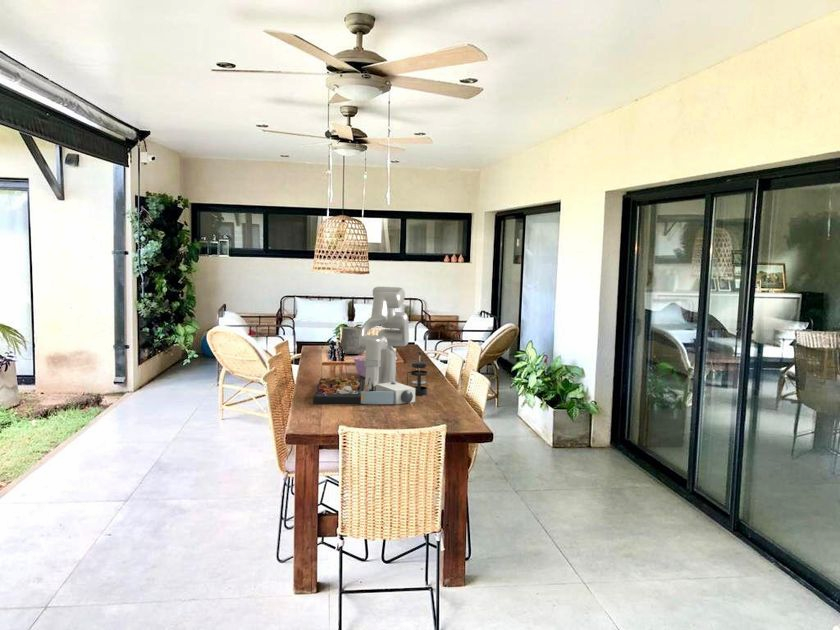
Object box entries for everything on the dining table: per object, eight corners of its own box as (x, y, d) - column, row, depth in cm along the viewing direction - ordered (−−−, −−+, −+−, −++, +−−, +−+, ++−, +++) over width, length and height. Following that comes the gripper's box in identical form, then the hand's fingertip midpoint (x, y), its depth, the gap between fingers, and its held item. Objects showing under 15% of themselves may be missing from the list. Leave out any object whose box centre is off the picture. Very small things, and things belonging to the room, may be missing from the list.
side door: (360, 404, 309) (360, 391, 309) (360, 403, 311) (361, 390, 311) (396, 404, 310) (396, 392, 310) (396, 403, 312) (396, 391, 312)
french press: (428, 392, 343) (430, 350, 341) (428, 396, 334) (430, 353, 331) (407, 391, 343) (408, 349, 341) (406, 395, 334) (407, 352, 332)
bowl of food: (389, 374, 389) (389, 356, 388) (384, 381, 369) (384, 361, 368) (357, 373, 391) (357, 354, 390) (350, 379, 371) (350, 360, 370)
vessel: (331, 355, 456) (332, 328, 454) (344, 351, 477) (345, 325, 475) (359, 357, 450) (359, 329, 448) (371, 353, 470) (371, 326, 469)
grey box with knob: (375, 397, 327) (376, 382, 327) (395, 394, 335) (395, 380, 334) (397, 405, 311) (398, 389, 311) (417, 402, 319) (417, 387, 318)
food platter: (363, 406, 311) (363, 385, 310) (313, 405, 309) (313, 384, 308) (363, 386, 356) (364, 368, 355) (319, 386, 354) (320, 368, 353)
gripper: (369, 359, 320) (368, 395, 322) (361, 365, 306) (361, 402, 308) (383, 360, 319) (383, 396, 321) (376, 366, 304) (376, 403, 306)
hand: (372, 399), depth 314 cm, fingers closed
